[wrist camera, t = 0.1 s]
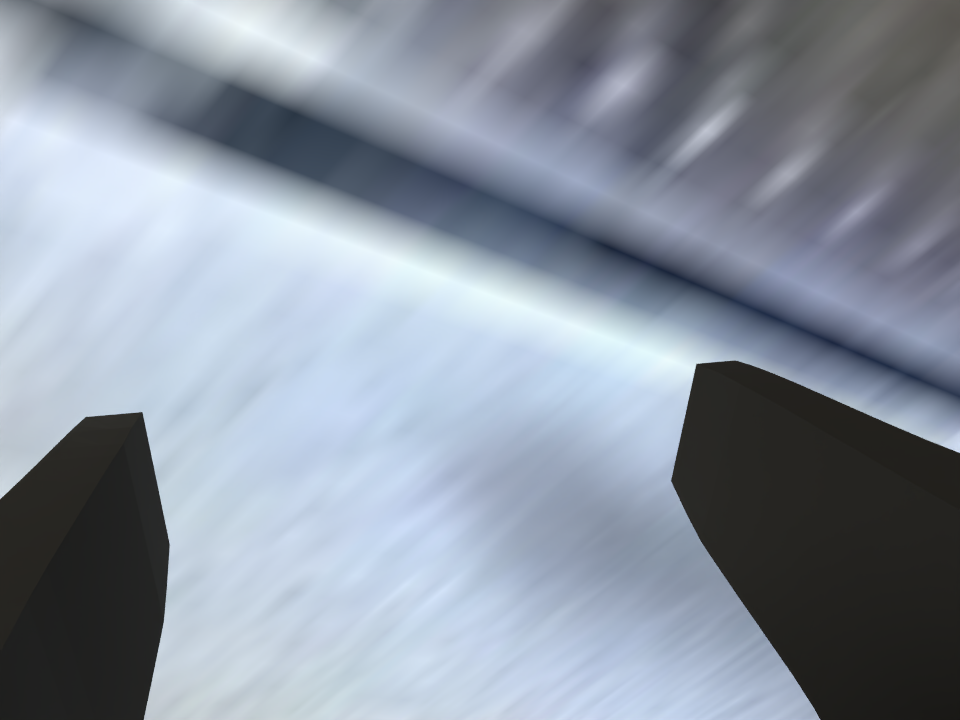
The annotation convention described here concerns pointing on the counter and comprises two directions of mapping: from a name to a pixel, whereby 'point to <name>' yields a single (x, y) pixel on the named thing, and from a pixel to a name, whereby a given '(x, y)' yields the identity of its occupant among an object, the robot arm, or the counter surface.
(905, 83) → the counter surface
